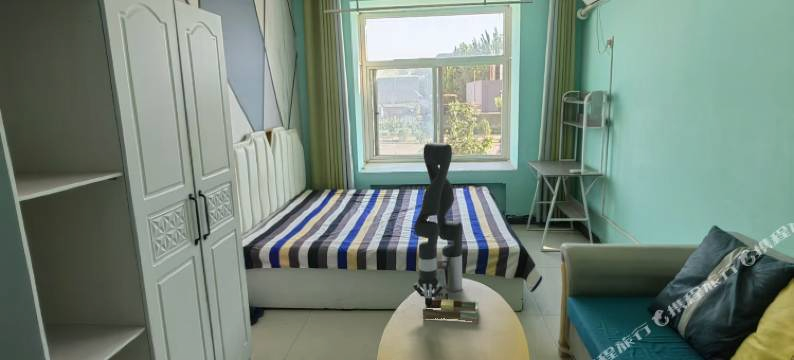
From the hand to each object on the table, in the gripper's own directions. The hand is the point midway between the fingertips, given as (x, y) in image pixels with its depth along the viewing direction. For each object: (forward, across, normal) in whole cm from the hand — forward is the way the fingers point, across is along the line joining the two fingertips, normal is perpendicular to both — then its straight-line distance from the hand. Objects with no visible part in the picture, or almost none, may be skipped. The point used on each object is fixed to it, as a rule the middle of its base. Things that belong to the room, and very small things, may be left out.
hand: (428, 305), depth 194 cm
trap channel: (+4, -9, 0) cm, 10 cm away
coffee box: (+4, -4, -16) cm, 18 cm away
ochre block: (+2, -8, 0) cm, 8 cm away
